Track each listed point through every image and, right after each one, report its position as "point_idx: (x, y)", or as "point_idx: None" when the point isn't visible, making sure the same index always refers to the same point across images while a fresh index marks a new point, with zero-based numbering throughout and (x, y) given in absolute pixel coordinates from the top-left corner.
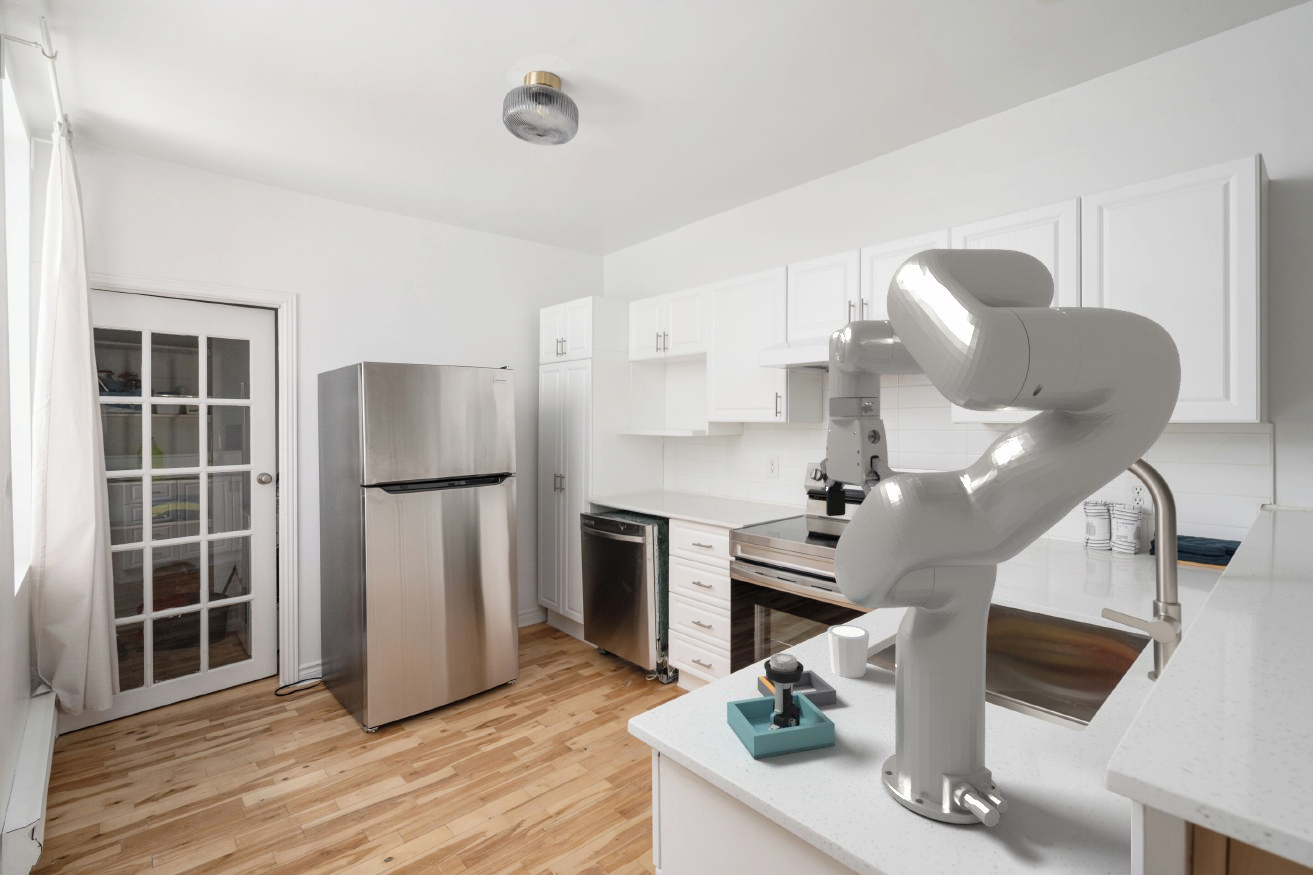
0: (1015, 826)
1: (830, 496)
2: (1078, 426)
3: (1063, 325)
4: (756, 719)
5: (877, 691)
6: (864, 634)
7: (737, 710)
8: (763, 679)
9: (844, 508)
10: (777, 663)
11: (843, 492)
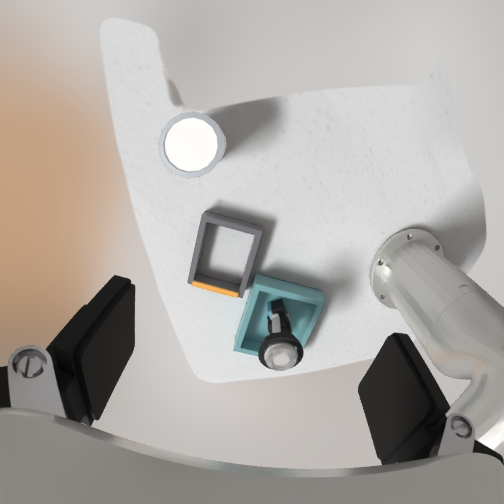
0: (450, 260)
1: (102, 404)
2: None
3: None
4: (249, 321)
5: (268, 159)
6: (215, 132)
7: (252, 352)
8: (199, 285)
9: (123, 301)
10: (285, 369)
11: (85, 364)
